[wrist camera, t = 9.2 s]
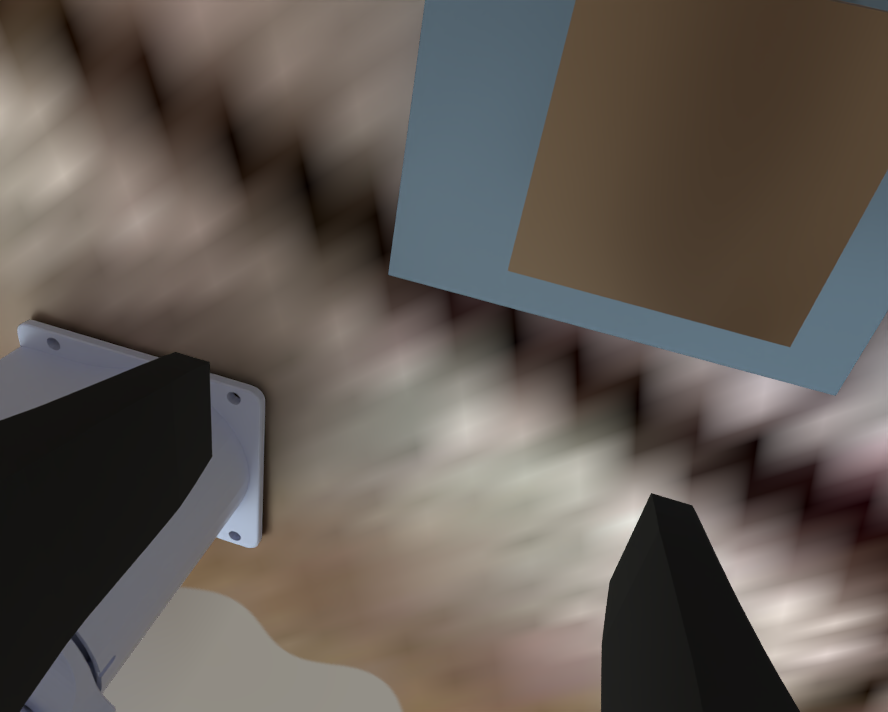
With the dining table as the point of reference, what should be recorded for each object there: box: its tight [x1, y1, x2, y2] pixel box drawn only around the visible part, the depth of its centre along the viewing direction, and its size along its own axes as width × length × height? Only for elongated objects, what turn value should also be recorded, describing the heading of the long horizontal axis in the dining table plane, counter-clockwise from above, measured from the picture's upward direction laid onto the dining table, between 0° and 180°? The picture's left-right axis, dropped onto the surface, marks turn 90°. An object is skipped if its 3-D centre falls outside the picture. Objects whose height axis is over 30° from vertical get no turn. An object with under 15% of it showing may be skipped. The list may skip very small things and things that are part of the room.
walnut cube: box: [508, 0, 888, 347], centre depth 12 cm, size 5×5×5 cm
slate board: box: [388, 0, 888, 396], centre depth 15 cm, size 12×12×1 cm
